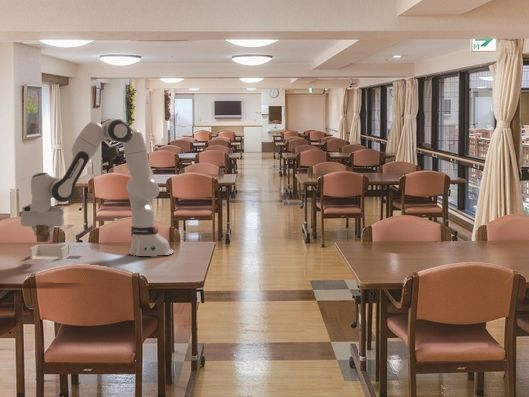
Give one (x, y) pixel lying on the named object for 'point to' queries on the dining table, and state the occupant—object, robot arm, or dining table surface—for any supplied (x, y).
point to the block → (42, 233)
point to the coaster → (73, 257)
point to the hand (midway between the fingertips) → (43, 235)
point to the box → (49, 251)
